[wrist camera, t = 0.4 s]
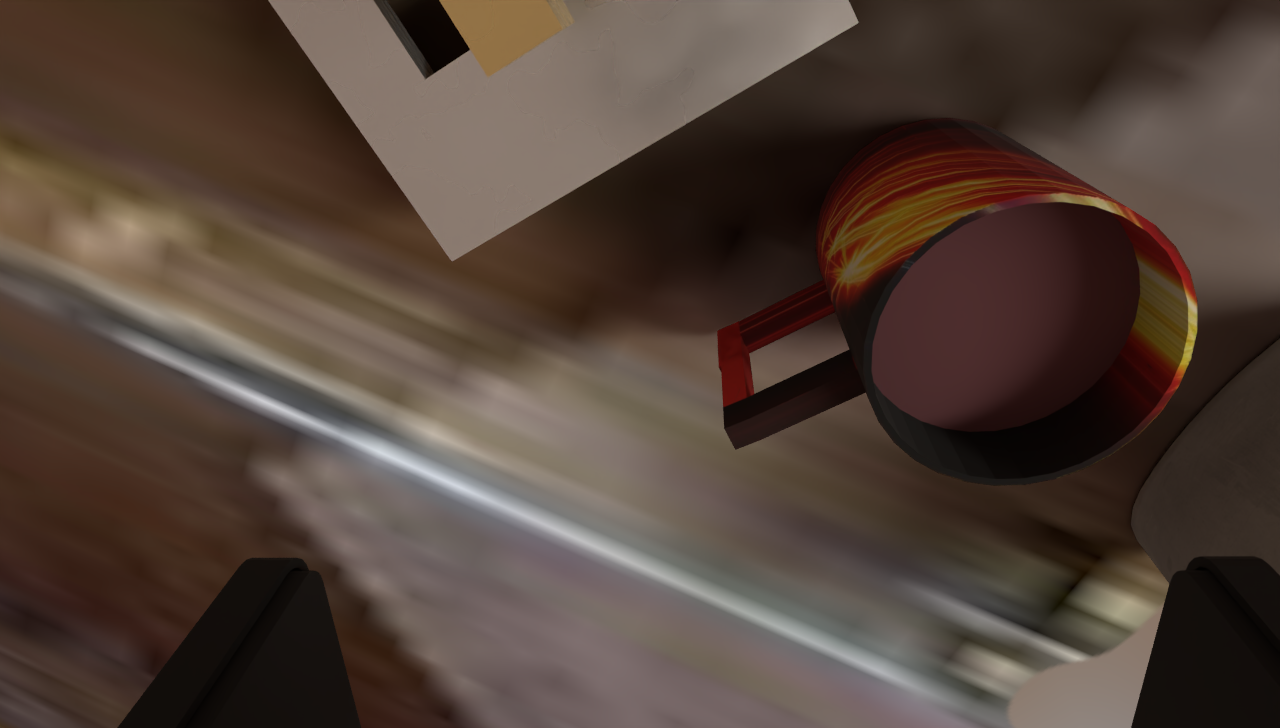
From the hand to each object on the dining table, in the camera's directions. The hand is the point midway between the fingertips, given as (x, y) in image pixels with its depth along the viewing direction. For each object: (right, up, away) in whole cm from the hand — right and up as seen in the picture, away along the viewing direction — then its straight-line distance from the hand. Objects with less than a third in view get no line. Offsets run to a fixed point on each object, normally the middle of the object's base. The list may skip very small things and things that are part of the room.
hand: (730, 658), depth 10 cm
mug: (+10, +7, +28) cm, 31 cm away
